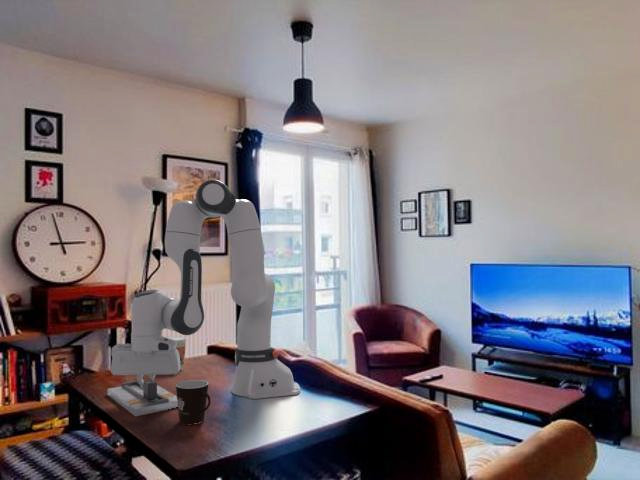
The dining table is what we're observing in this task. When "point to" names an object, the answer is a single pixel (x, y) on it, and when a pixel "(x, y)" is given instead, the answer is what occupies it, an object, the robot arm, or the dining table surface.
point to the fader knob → (150, 389)
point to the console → (142, 399)
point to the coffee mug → (192, 400)
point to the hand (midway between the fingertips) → (145, 388)
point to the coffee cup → (180, 349)
